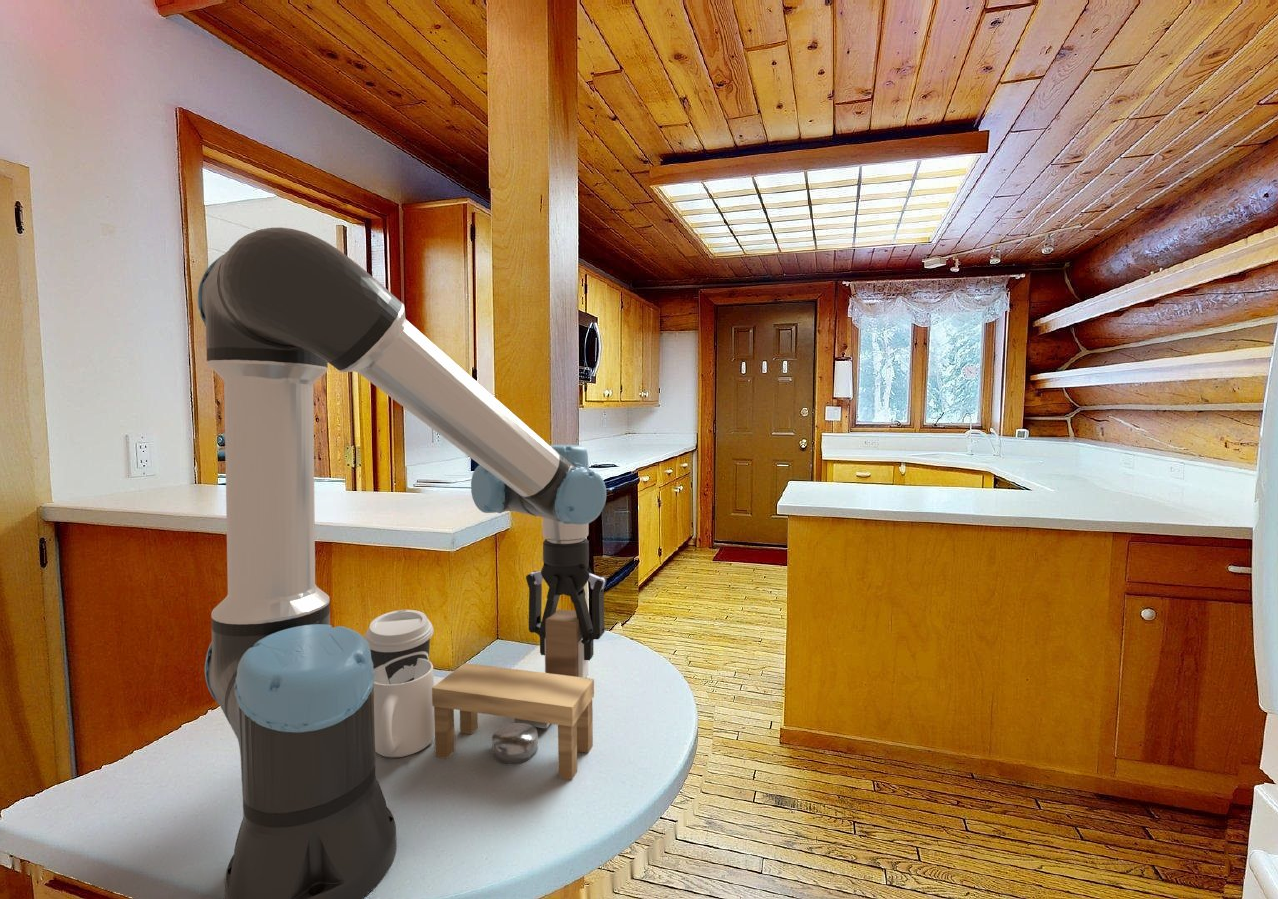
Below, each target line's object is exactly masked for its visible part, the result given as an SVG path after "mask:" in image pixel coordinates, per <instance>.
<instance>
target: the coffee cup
mask: <svg viewBox="0 0 1278 899" xmlns="http://www.w3.org/2000/svg"><path fill="white" fill-rule="evenodd" d="M433 626H434V625H433V624H432V622H431V621H430V620H429V619H428V617H427V615H426V614H425V613H424V612H422V611H419V610H416V609H415V610H413V609H401V610H400V609H399V610H398V609H397V610H393V611H389V612H386V613H383V614H382V615H378V616H377V617H375V618H374V619H372V621H371V622H370V624H369V627H368V628H367V630H366V633H365V634H364V636H363V637H364V638H365V640H366V641H367V643H368V645H369V647H370V651H371V659H372V662H373V665H374V666H373V668H374V669H375V668H377V667H378V666H380V665H384V666H385V670H386V673H387V677H388V680H389V683H390V684H401V683H405V682H409V681H413V680H414V676H415V670H416V664H417V659H418V658H422V659H426V660H428V661H430V643H431V638H432V636H433V635H434V631H435V630H434V629H435V628H434V627H433Z"/></svg>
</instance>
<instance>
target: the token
mask: <svg viewBox="0 0 1278 899" xmlns="http://www.w3.org/2000/svg"><path fill="white" fill-rule="evenodd" d="M491 740H492V742H491V743H492V758H493V759H494V760H495V761H496V762H498V763H499V764H503V765H519V764H522V763H525V762H528V761H529V760H531V759H533V758H534V757H535V756H536V755H537V753H538V748H539V746H538V729H537V727H534V726H532V725H529V724H525V723H515V722H514V723H510V724H509V723H508V724H506V725H504V726H501V727H499V728H498V729H496V731H494V732H493V734H492V737H491Z"/></svg>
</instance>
